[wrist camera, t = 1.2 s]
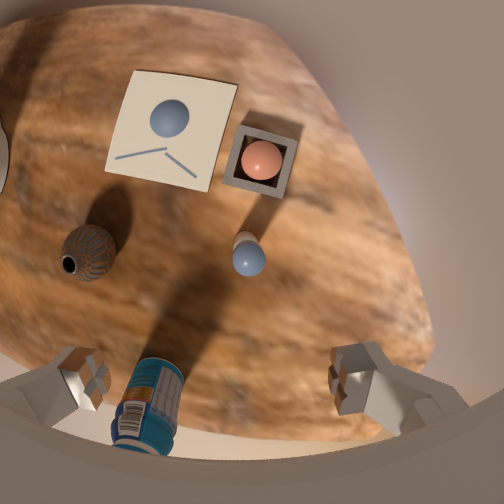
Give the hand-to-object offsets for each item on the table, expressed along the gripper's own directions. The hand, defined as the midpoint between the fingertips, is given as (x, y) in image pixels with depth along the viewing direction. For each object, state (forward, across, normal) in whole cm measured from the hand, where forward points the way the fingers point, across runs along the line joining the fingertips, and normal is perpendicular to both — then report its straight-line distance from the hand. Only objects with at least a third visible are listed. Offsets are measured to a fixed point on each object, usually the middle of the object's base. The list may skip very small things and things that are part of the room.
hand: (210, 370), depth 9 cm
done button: (+25, -3, -8) cm, 27 cm away
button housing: (+27, -3, -8) cm, 28 cm away
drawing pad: (+26, +8, -14) cm, 31 cm away
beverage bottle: (+26, +14, +22) cm, 37 cm away
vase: (+26, +19, 0) cm, 32 cm away
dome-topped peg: (+27, -1, +1) cm, 27 cm away
